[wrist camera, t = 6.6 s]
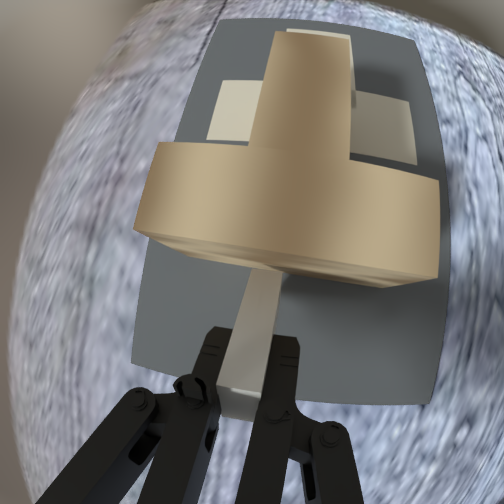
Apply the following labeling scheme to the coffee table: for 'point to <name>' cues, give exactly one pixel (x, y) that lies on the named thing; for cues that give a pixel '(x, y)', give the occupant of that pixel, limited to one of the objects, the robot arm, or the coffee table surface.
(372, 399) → the mat
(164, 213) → the t block
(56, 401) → the coffee table surface
